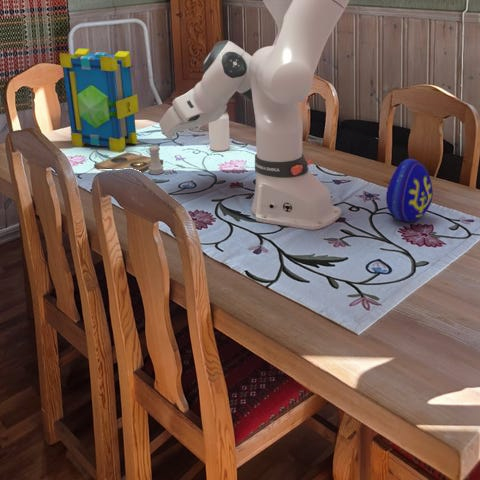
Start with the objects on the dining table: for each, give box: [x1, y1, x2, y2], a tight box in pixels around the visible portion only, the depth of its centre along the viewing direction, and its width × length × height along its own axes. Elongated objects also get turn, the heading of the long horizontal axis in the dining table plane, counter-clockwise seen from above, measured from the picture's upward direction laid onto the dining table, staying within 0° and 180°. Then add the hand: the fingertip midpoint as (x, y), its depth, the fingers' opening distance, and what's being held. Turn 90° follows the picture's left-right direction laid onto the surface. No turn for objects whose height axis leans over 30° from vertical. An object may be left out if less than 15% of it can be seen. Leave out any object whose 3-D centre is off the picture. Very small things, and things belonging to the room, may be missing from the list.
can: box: [208, 109, 231, 153], centre depth 217 cm, size 6×6×12 cm
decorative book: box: [58, 47, 139, 153], centre depth 221 cm, size 14×23×30 cm, turn 62°
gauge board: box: [93, 152, 164, 173], centre depth 206 cm, size 15×14×1 cm
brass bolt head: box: [133, 162, 143, 166], centre depth 203 cm, size 3×3×1 cm
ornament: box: [385, 158, 434, 223], centre depth 161 cm, size 11×9×15 cm
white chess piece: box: [147, 144, 164, 176], centre depth 199 cm, size 4×4×8 cm
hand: (181, 132), depth 188 cm, fingers open, 8 cm apart
